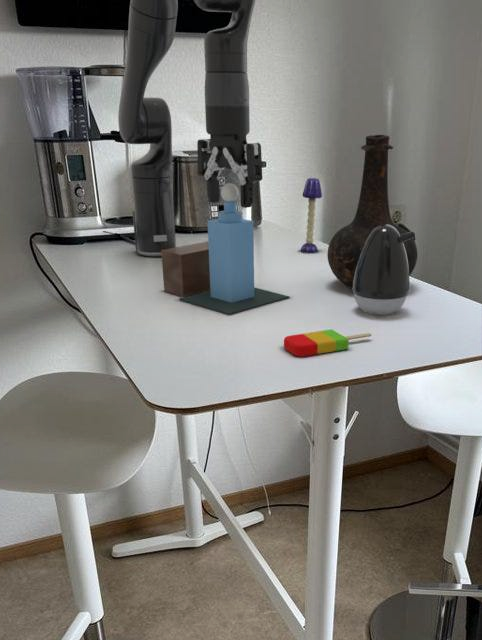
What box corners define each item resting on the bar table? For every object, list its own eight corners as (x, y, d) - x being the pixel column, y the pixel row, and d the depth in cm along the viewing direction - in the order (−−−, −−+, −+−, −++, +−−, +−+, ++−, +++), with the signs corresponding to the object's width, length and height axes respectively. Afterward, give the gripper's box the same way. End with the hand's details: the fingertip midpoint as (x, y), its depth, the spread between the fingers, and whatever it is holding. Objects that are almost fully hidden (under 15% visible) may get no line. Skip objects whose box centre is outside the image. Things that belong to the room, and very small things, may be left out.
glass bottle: (425, 296, 137) (443, 138, 123) (337, 299, 134) (345, 138, 121) (398, 274, 152) (410, 132, 138) (318, 277, 150) (323, 132, 136)
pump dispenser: (401, 322, 122) (410, 231, 115) (344, 315, 125) (349, 227, 118) (413, 306, 131) (421, 221, 123) (359, 301, 134) (364, 217, 126)
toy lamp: (320, 249, 174) (323, 177, 166) (319, 253, 170) (322, 180, 162) (301, 249, 175) (302, 177, 166) (299, 253, 171) (301, 179, 162)
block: (164, 291, 139) (160, 250, 135) (208, 280, 147) (207, 241, 143) (183, 296, 136) (180, 254, 132) (228, 285, 143) (227, 245, 139)
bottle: (249, 308, 137) (286, 225, 123) (226, 314, 133) (262, 230, 119) (207, 263, 141) (239, 178, 127) (184, 268, 137) (214, 180, 123)
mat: (179, 300, 134) (179, 298, 134) (239, 285, 144) (239, 283, 144) (229, 315, 125) (229, 313, 125) (289, 297, 136) (289, 296, 135)
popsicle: (280, 347, 110) (280, 336, 109) (361, 334, 116) (362, 323, 115) (296, 358, 106) (297, 346, 105) (379, 344, 112) (380, 333, 111)
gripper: (272, 104, 117) (272, 206, 125) (215, 102, 125) (218, 198, 133) (240, 104, 112) (242, 211, 120) (183, 102, 120) (188, 202, 128)
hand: (229, 204), depth 126 cm, fingers open, 8 cm apart
